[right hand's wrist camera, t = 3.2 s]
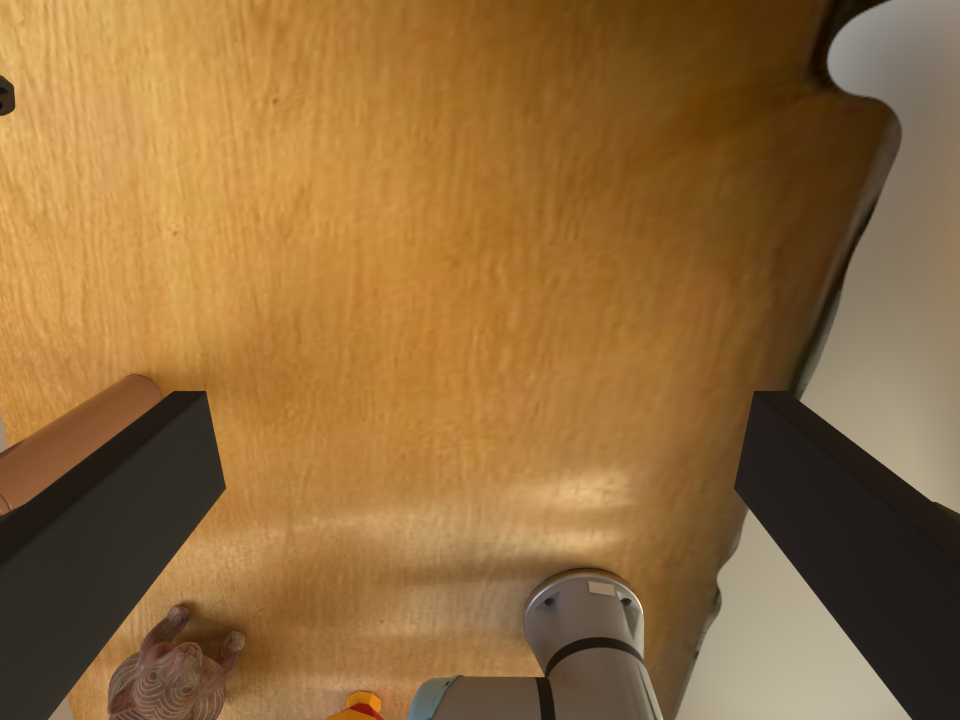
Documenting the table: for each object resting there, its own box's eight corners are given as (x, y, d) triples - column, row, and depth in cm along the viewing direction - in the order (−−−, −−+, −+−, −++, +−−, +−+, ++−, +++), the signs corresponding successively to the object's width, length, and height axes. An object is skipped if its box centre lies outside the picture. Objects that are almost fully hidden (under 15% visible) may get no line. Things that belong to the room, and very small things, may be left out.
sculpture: (278, 591, 67) (224, 705, 53) (220, 710, 75) (161, 837, 61) (171, 551, 65) (86, 660, 51) (124, 678, 73) (39, 803, 59)
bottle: (138, 421, 58) (-98, 602, 35) (107, 387, 57) (-161, 551, 33) (171, 402, 57) (-47, 574, 34) (140, 367, 56) (-109, 520, 32)
